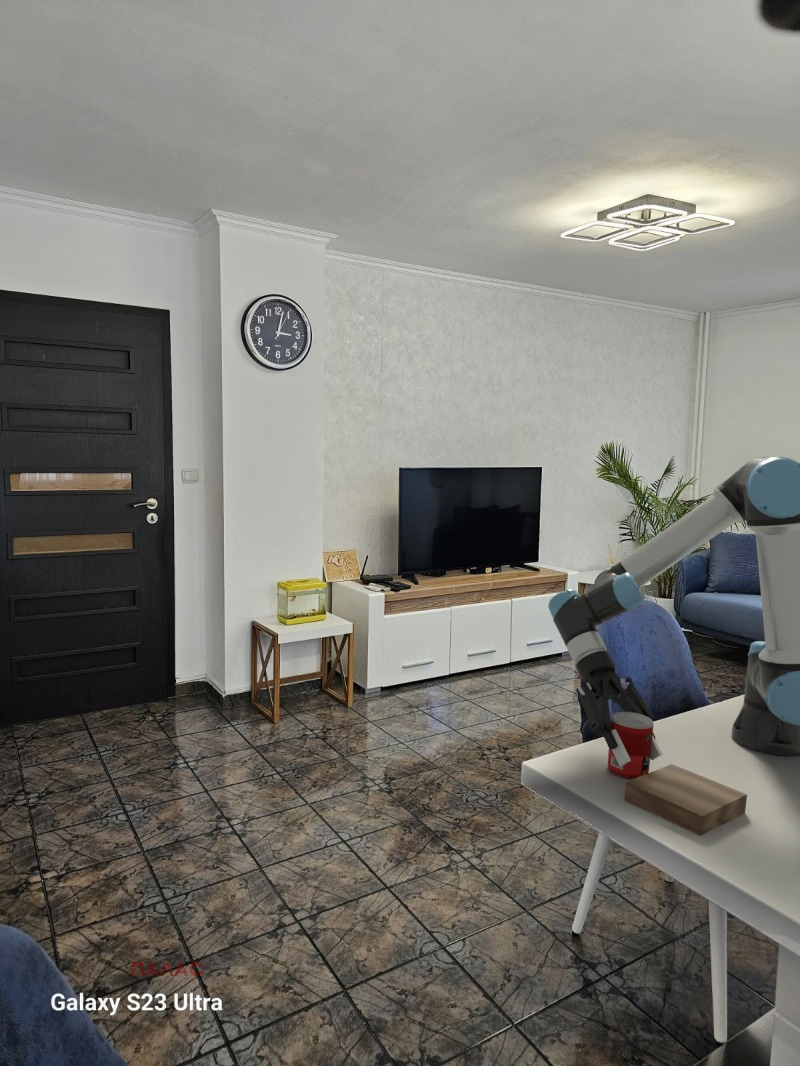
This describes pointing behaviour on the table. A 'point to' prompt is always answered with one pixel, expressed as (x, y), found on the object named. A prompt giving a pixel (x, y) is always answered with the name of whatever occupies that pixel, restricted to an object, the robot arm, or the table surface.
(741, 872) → the table surface
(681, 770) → the walnut stand
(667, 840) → the table surface
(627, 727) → the canned food
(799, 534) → the robot arm
